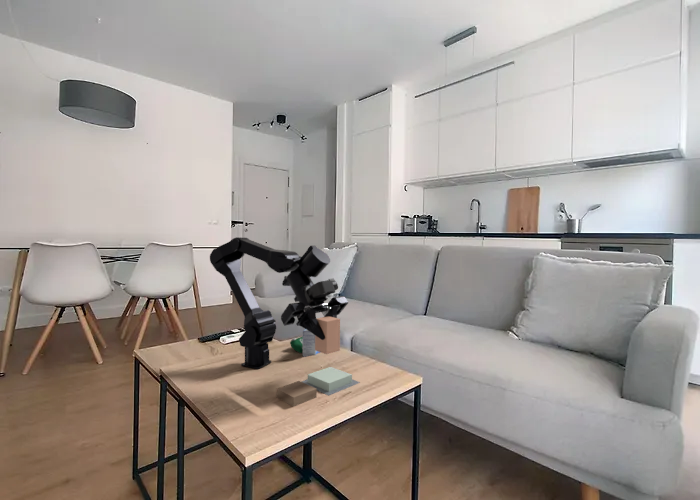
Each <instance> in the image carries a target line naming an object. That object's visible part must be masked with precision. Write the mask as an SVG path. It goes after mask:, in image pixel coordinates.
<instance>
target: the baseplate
mask: <svg viewBox="0 0 700 500" xmlns="http://www.w3.org/2000/svg"><path fill="white" fill-rule="evenodd" d="M301 382H303V383H305V384H307V385H309V386H312V387H314V388H316V389H317V392H320V393H322V394H324V395H326V396H329V397H330V396H332V395H335V394H336V393H338V392H341V391H343V390H346V389H348V388H350V387H354V386H355V385H358V384H360V383H361V382H360V381H358V380H355V379H353V378H352V383H349V384H347V385H344V386H342V387H339V388H337V389H334V390H332V391H330V392H329V391H326V390H324V389H322V388H319V387H317V386H315V385H313V384H310V383H308V378H307V379H304V380H303V381H301Z"/></svg>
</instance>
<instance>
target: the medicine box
mask: <svg viewBox="0 0 700 500" xmlns="http://www.w3.org/2000/svg"><path fill="white" fill-rule="evenodd" d="M302 336H303V348H302V349H303V352H302V357H303V358H306V357H310V356H316V355H317V354H320V353H321V352H319V351H316V350H315V335H314V334H313V333H311V332H310V331H308V330H306V329H305V328H304V330H302Z"/></svg>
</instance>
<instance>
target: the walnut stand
mask: <svg viewBox="0 0 700 500" xmlns="http://www.w3.org/2000/svg"><path fill="white" fill-rule="evenodd" d="M275 391H276V398H277V399H278V400H280V401H282V402H284V403H286V404H288V405H290V406H291V407H297V406H300V405H301V404H305V403H307V402H309V401H311V400H314V399H316V398H317V396H318V395H317V393H318V391H317V389H316V388H314V387H312V386H309V385H307V384H305V383H303V382H302V381H300V380H298V381H295V382H292V383H289V384H286V385H283V386H280V387H277V388H276V390H275Z"/></svg>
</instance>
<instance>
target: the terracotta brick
mask: <svg viewBox="0 0 700 500" xmlns="http://www.w3.org/2000/svg"><path fill="white" fill-rule="evenodd" d="M316 319H317V321H318V323H319V325H320V327H321V328H322V330H323V333H324V335H325V339H324V340H321V339H320V338H319V337H317V336H316V335H315V350H316V351H319V352H320V353H322V354H325V355H328V354H332V353H336V352H339V351H341V318H338V317H337V318H334V317H330V316H327V317H324V316H322V317H316Z"/></svg>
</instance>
